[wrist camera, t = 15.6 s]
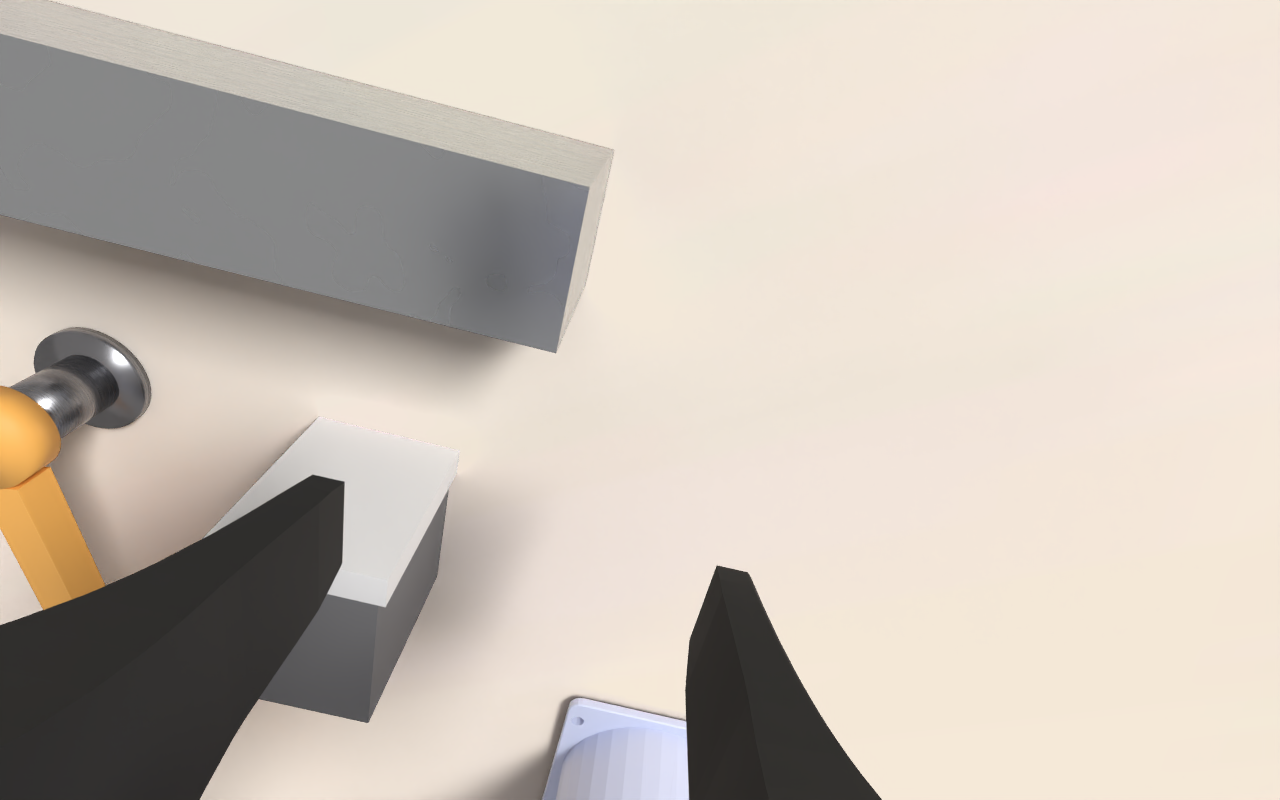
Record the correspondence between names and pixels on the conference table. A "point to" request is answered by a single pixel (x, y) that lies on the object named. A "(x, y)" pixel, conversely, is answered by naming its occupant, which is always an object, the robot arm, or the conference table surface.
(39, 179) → the socket
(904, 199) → the conference table surface
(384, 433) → the plug
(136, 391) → the lever handle base
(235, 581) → the robot arm
